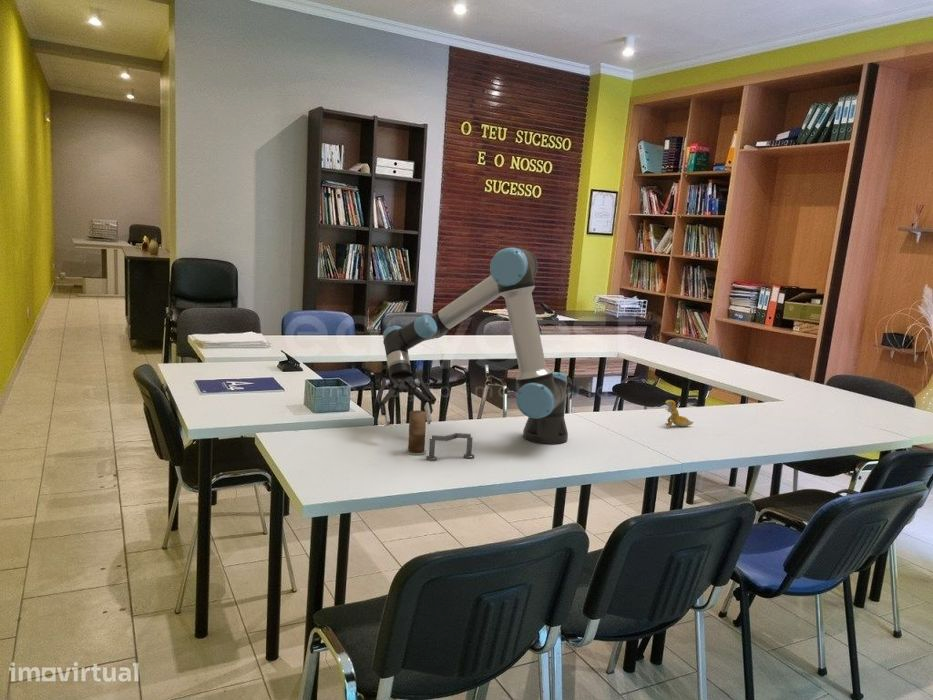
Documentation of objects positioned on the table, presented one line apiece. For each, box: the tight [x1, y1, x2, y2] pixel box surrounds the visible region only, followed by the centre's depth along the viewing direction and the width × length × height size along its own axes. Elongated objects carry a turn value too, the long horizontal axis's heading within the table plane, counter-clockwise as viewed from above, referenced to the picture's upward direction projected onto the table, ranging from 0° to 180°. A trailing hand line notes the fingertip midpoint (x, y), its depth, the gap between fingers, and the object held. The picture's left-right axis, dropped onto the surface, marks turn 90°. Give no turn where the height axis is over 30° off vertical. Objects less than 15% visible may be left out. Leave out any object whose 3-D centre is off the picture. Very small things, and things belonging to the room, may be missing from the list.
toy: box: [664, 399, 694, 429], centre depth 254 cm, size 7×15×10 cm, turn 108°
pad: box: [406, 448, 427, 456], centre depth 204 cm, size 6×6×1 cm
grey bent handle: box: [425, 432, 475, 462], centre depth 199 cm, size 15×4×7 cm, turn 113°
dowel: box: [407, 410, 427, 453], centre depth 203 cm, size 5×5×12 cm
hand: (409, 422), depth 212 cm, fingers open, 13 cm apart
